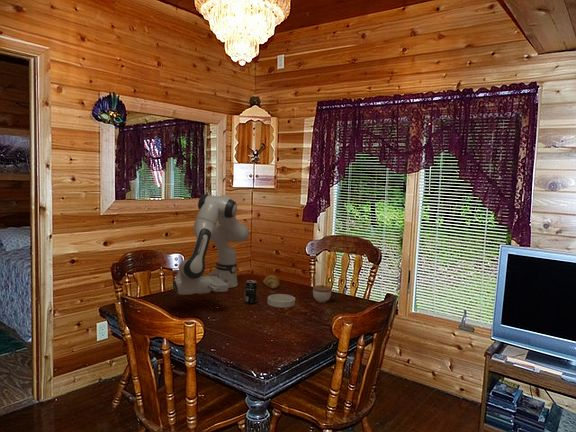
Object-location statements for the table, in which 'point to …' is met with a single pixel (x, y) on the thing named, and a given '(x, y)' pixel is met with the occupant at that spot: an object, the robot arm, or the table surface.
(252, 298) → the beverage can
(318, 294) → the lidded jar
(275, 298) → the pale grey round disc
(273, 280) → the croissant
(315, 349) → the table surface
